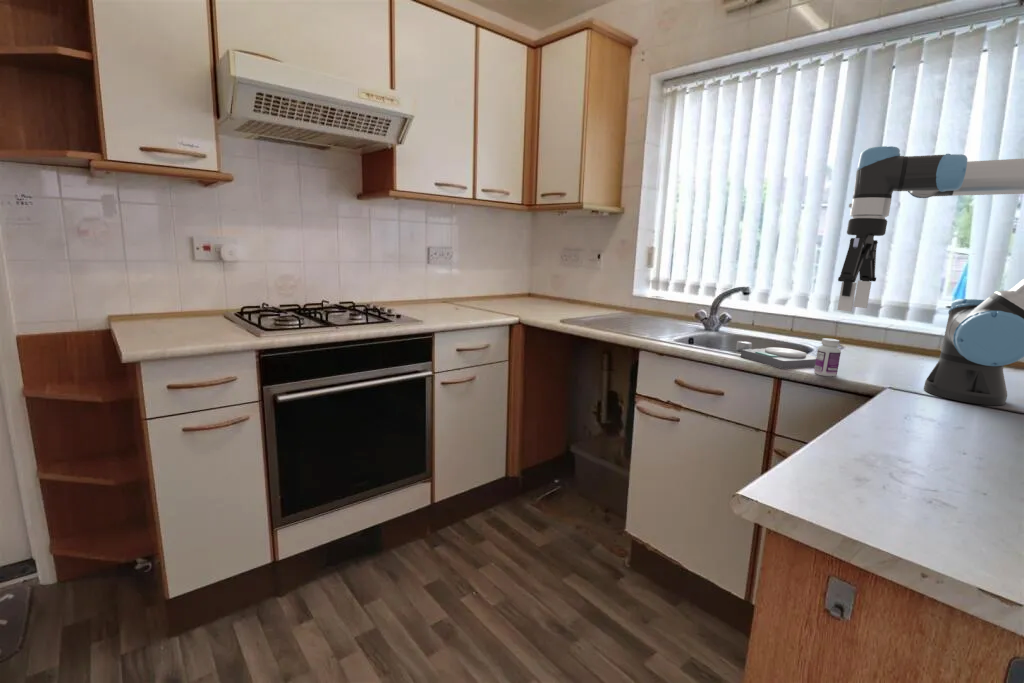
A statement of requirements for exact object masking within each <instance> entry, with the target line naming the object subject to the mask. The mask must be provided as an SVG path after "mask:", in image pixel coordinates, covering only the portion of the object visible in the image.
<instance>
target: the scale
mask: <svg viewBox="0 0 1024 683" xmlns="http://www.w3.org/2000/svg"><path fill="white" fill-rule="evenodd" d="M816 357H817V356H814V355H810V354H807V352H804V351H803V350H802V351H801V350H797V349H794V348H793V349H792V348H785V347H773V346H772V347H765V348H751V349H744V350H742V351H741V352H740V358H744V359H747V360H751V361H754V362H757V363H762V364H765V365H768V366H771V367H776V368H779V369H782V370H783V369H798V368H799V369H800V368H813V367H814V368H815V363H816Z"/></svg>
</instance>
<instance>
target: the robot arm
mask: <svg viewBox="0 0 1024 683" xmlns="http://www.w3.org/2000/svg"><path fill="white" fill-rule="evenodd" d="M900 152H901V150H900V148H899V147H898V146H891V145H890V146H887V145H886V146H885V145H884V146H873V147H869V148H865V149H863V151H861V153H860V154H859V160H858V164H857V168H856V171H855V172H856V174H855V178H854V179H855V180H854V187H853V193H852V200H851V201H852V202H851V203H849V204H848V208H850V213H849V216H850V217H852V218H850V219H849V220H848V222H847V229H846V234H847V235H849V236H855V237H851V238H850V240H849V246H848V250H847V253H846V256H845V258H844V259H845V260H844V261H843V265H842V269H841V271H840V275H839V276H838V277H837V278H838V279H837V281H838V282H841V287H840V293H839V298H838V305H837V311H844V312H852V311H853V308H861V309H868V306H869V305H868V304H869V300H870V292H871V288H872V282H876V281H877V277H876V260H877V258H876V257H877V247H878V243H879V242H878V240H877V239H876V240H875V238H874V237H881V236H884V235H886V232H887V227H888V226H887V225H888V220H887V219H886V218H887V217H889V216H890V210H891V204H892V196H893V193H894V192H908V194H909V195H911V196H912V197H914V198H918V199H929V198H933V197H950V196H951V197H952V196H953V197H954V196H985V195H986V196H990V195H1024V158H1010V159H1009V158H1008V159H992V160H974V161H973V160H972V161H968V157H967V155H965V154H961V153H960V154H957V153H956V154H951V153H945V154H928V155H912V156H911V155H910V156H908V155H907V156H904V155H901V153H900ZM858 275H859V280H857V277H858ZM856 281H857V282H856ZM945 327H946V328H945V332H944V336H943V340H942V345H941V350H940V355H939V359H938V361H937V363H936V364H935V366H934V367H933V369H932V370H931V371H930V373H929V375H928V376H927V377H926V380H925V381H924V385H923V390H924V391H925V392H926V393H930V394H932V395H935V396H937V397H942V398H944V399H945V398H946V399H949V400H952V401H953V400H954V401H957V402H958V401H959V402H963V403H968V404H976V405H985V406H1003V405H1004V406H1005V405H1006V402H1007V398H1008V391H1007V385H1006V379H1005V375H1004V367H1005V366H1008V365H1011V364H1013V363H1016V362H1018V361H1020V360H1021V359H1023V358H1024V278H1023V279H1022V280H1020V281H1019V282H1018V283H1016V284H1015V285H1014V286H1013V287H1012V288H1010V289H1007V290H997V291H994V292H993V293H992V294H991V295H989V296H987V298H985V299H976V298H974V299H973V298H971V299H970V298H969V299H968V298H967V299H966V298H960V299H955V300H954V301H952V303H951V305H950V308H949V309H948V317H947V322H946V326H945Z"/></svg>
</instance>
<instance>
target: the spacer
mask: <svg viewBox="0 0 1024 683" xmlns="http://www.w3.org/2000/svg"><path fill="white" fill-rule="evenodd" d="M752 347H753V343H752V341H751V342H750V341H745V340H743V341H742V340H737V341H736V347H735V348H736V349H735V352H739V353H741V351H742V350H744V349H752Z"/></svg>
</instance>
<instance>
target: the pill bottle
mask: <svg viewBox="0 0 1024 683" xmlns="http://www.w3.org/2000/svg"><path fill="white" fill-rule="evenodd" d="M821 339H822V340H821V345H819V346H818V348H817V350H816V351H817V353H816V356H815V357H816V363H815V367H814V373H815V374H816V375H820V376H823V377H829V378H830V377H832V376H833V377H837V375H838V370H839V365H840V358H841V353H842V350H841V349H840V348H839V347H838V346H839V345H840V340H839V339H834V338H824V337H823V338H821Z"/></svg>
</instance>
